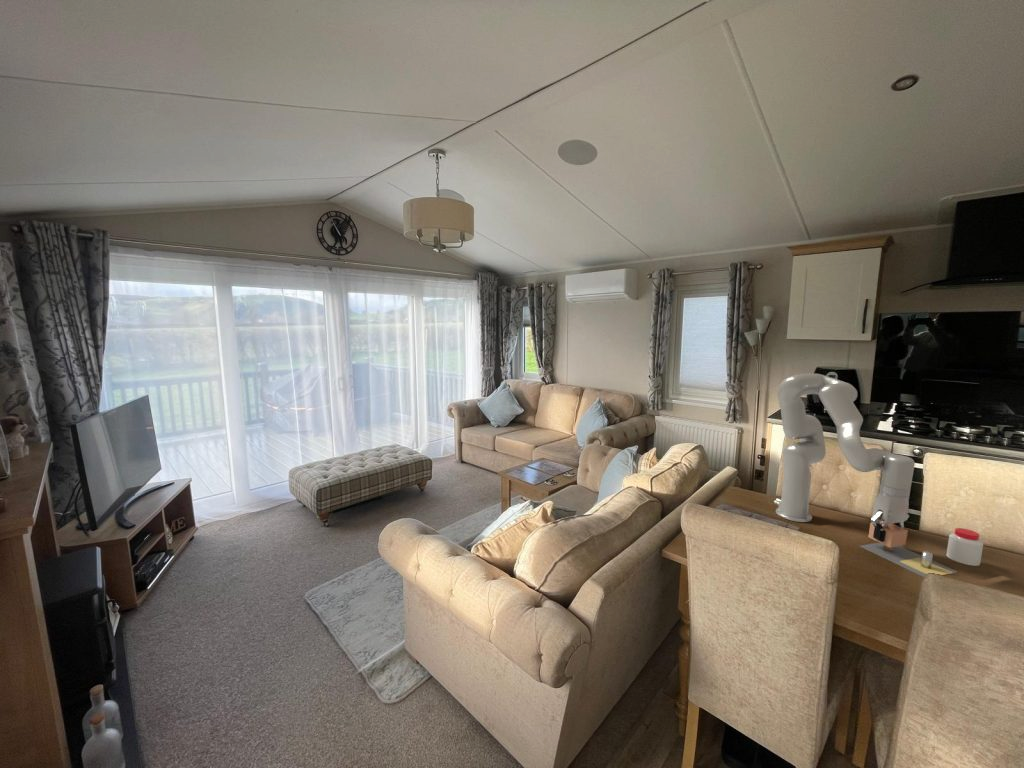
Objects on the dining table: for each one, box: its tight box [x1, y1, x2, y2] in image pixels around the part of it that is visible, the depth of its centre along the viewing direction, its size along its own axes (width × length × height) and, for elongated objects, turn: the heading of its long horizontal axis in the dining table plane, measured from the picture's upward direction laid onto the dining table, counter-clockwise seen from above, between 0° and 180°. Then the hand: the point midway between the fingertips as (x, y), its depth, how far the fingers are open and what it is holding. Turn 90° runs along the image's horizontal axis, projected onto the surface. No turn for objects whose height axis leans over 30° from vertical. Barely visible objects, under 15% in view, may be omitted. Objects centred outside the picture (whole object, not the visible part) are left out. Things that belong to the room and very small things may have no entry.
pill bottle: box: [946, 527, 984, 567], centre depth 138 cm, size 8×8×11 cm
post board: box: [859, 542, 958, 578], centre depth 139 cm, size 20×14×6 cm
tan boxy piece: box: [867, 522, 909, 548], centre depth 144 cm, size 7×7×6 cm
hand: (886, 538), depth 145 cm, fingers closed on tan boxy piece, 7 cm apart
